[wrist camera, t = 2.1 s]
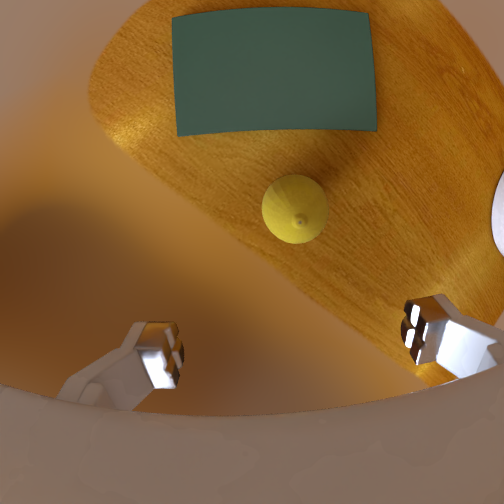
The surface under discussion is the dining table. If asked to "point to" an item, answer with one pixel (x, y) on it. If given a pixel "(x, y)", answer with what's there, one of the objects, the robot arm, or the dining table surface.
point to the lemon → (295, 208)
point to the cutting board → (273, 70)
